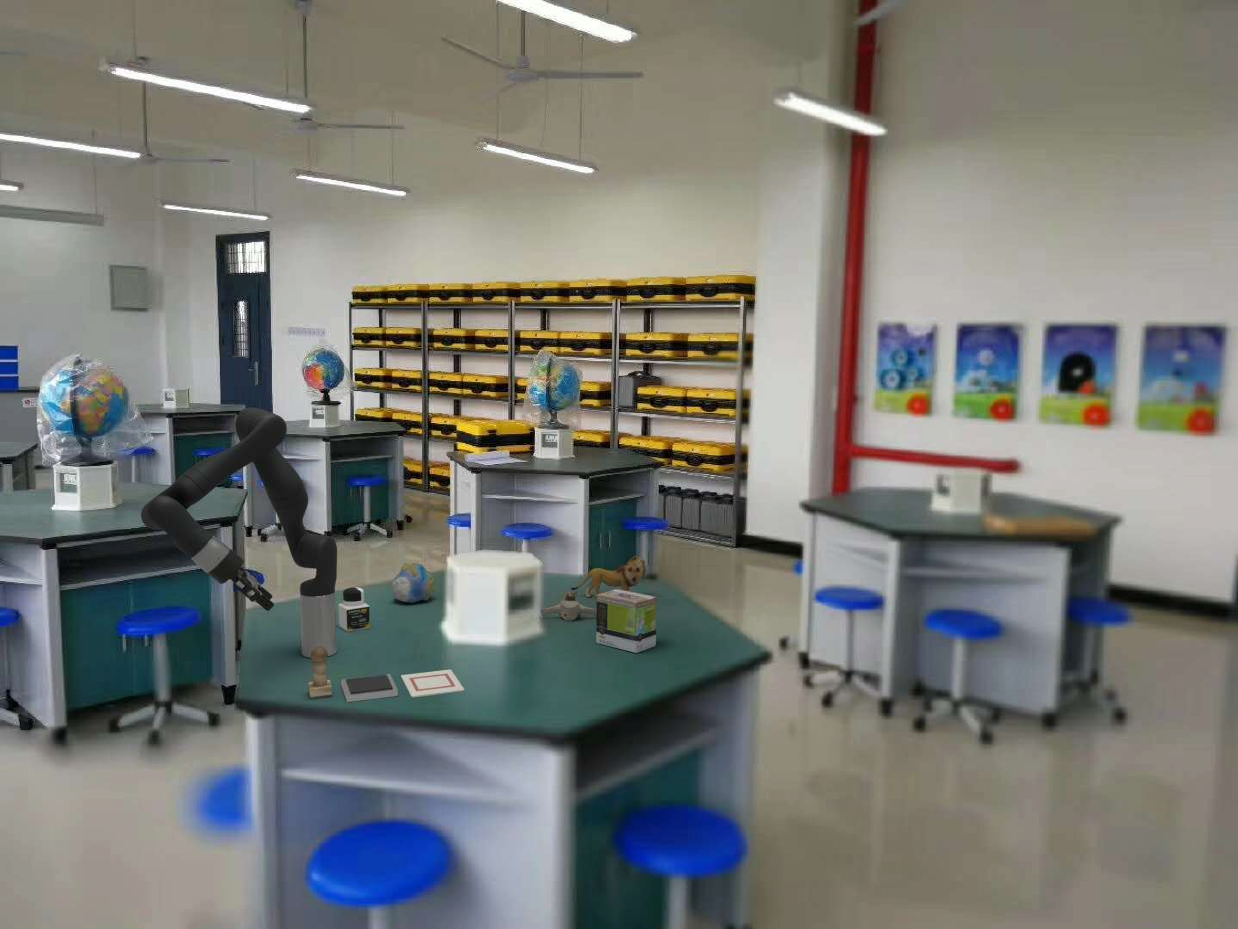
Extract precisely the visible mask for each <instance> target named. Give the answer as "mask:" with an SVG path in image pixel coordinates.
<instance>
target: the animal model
mask: <svg viewBox="0 0 1238 929" xmlns="http://www.w3.org/2000/svg"><path fill="white" fill-rule="evenodd" d="M646 566H647V565H646V561H645V559H644V558H642V557H639V556H636V555H634V556H633V557H631V558H630V559H629V561H627V562H626V563H625V564H622V565H620V566H619V567H618V568H617V569H615V570H608V569H604V568H599V567H598V568H593V569H591V570H590V571H589V572H588V574H587V575H586V577H584V579H583V580H582V581H581V583H579V585H578V586H576V587H571V588H570V591H571V590H572V591H577V590H578V589H579V588H581V587H582V586H583V585H584V584H585V583H586V582H588V580H589V578H591V581H590V582H589V584H588V585H587V586H586V590H585V596H586V597H587V598H593V595H594V596H595V598H596V599H597V595H598V594H599V592H600V589H601V584H602V583H603V584H605V585H606V586H608V587H611V588H617V587H621V588H622V589H621V590H625V591H629V590H630V587H636V586H637V585H638V584H639V582H640V581H642V579H644V578H645V576H646V573H647V567H646ZM592 589H593V595H592V594H591V593H590V591H591V590H592Z"/></svg>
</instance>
